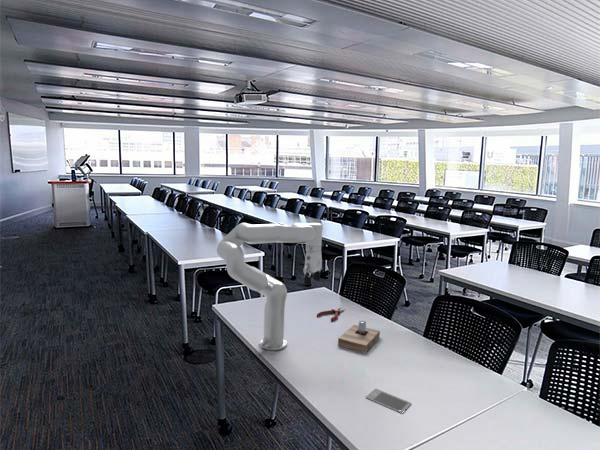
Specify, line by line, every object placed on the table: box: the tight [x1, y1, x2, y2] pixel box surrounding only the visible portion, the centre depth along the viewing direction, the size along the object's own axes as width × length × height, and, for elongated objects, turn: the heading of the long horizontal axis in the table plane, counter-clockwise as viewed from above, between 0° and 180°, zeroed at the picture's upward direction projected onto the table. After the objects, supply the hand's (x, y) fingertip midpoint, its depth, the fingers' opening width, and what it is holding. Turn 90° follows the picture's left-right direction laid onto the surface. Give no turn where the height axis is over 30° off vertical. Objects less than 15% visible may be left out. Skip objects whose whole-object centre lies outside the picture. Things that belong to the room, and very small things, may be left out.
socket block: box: [337, 324, 381, 354], centre depth 201 cm, size 20×14×4 cm
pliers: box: [316, 307, 346, 322], centre depth 235 cm, size 12×20×3 cm, turn 143°
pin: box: [358, 320, 367, 336], centre depth 203 cm, size 4×4×9 cm
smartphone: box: [365, 388, 412, 414], centre depth 151 cm, size 15×8×1 cm, turn 52°
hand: (312, 282), depth 200 cm, fingers open, 9 cm apart
